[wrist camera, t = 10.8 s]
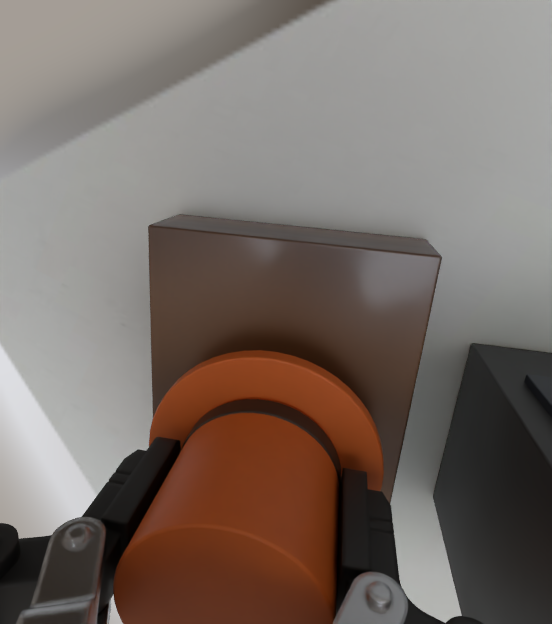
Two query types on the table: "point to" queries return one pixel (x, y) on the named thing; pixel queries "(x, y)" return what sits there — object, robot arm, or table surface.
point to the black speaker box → (500, 487)
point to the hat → (248, 495)
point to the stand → (295, 307)
